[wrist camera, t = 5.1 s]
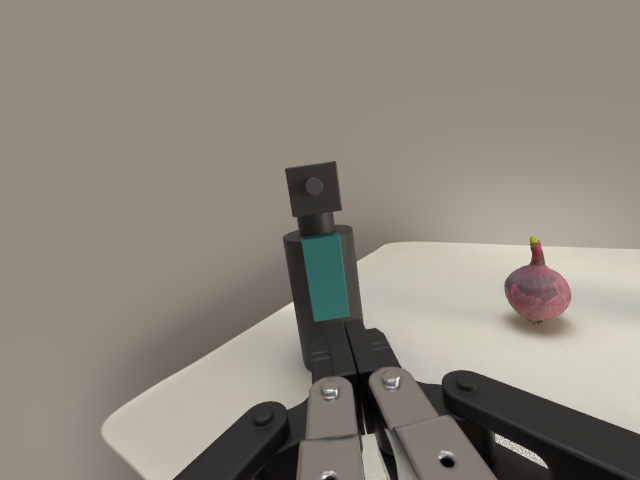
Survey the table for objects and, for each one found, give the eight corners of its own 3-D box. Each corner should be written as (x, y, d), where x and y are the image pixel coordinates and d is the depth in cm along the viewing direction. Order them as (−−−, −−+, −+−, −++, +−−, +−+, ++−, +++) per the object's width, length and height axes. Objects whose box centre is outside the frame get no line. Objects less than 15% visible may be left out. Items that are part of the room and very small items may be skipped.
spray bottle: (390, 416, 25) (362, 156, 21) (304, 430, 25) (258, 171, 21) (360, 334, 38) (339, 162, 34) (303, 343, 38) (274, 171, 33)
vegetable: (554, 310, 37) (557, 228, 35) (582, 338, 32) (587, 242, 29) (497, 311, 39) (496, 233, 37) (514, 337, 33) (514, 247, 31)
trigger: (349, 316, 26) (339, 234, 24) (314, 322, 26) (301, 240, 24) (347, 310, 27) (337, 231, 26) (313, 315, 27) (301, 236, 25)
